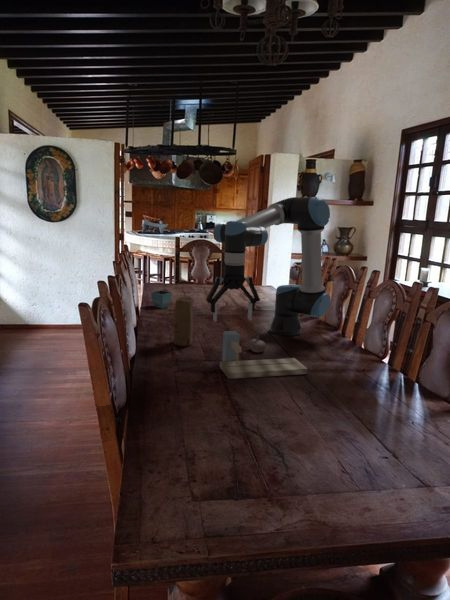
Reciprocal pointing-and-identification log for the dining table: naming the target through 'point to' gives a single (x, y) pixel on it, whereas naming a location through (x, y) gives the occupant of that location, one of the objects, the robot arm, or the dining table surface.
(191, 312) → the stone
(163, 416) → the dining table surface
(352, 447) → the dining table surface
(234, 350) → the hammer
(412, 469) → the dining table surface
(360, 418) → the dining table surface
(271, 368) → the board
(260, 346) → the garlic bulb
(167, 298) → the flower pot
